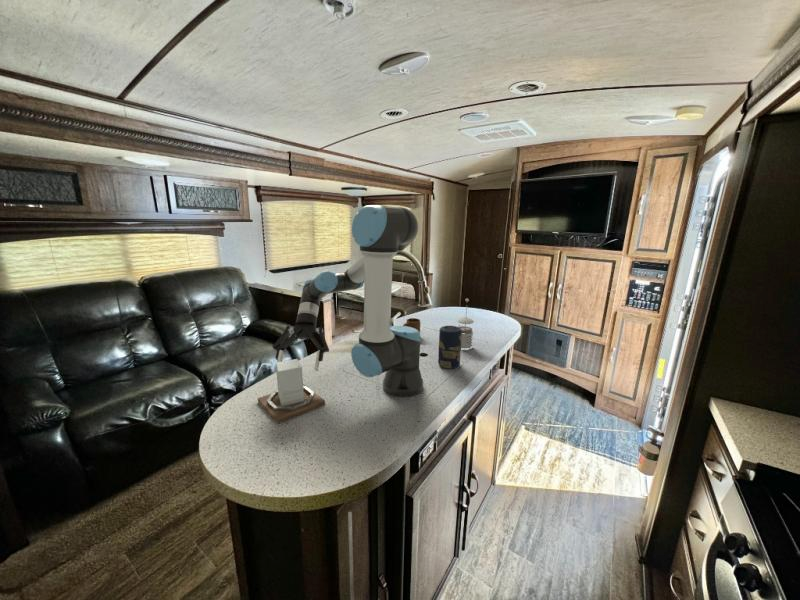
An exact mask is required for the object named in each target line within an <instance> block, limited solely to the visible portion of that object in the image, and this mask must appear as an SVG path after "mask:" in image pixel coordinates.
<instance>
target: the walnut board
mask: <svg viewBox="0 0 800 600" xmlns="http://www.w3.org/2000/svg"><path fill="white" fill-rule="evenodd" d="M303 386H306V387H307V388H309V387H308V386H307V385H305V384H304V383H303ZM309 389H310V390H311V391H313V390H312V389H311V388H309ZM313 392H314V397H313V399H312V401H311V403H310V405H307V406H305V407H302V408H300V409H298V410H295V411H293V412H292V411H274V410H273V409H272V408H271V407H270V406H269V405H268V404H267V400H268V398H269V397H270V396H271V394H272V393H269V394H266V395H263V396H260V397H257V403H258V402H259V403H260V404H261V405H262V406H263V407H262V406H261V405H260V404H259V403H258V404H259V405H260V406H261V407H262V408H263V409H264V410H265V411H266V412H267V413H268V415H269V416H270V417H271V416H272V417H273V418H274V419H275V420H276V421H277V422H276V421H275V420H274V419H273V418H272V419H273V420H274V421H275V422H276V423H277V424H278V423H279V424H281V423H280V422H282V423H284V422H286V421H289V420H291V419H293V418H295V417H298V416H302V415H304V414H305V413H308V412H310V411H312V410H314V409H317V408H319V407H322V406H324V405H325V404H326V400H325V399H324V398H322V396H320V395H319V394H317V393H316V392H315V391H313ZM303 393H304V401H303V402H306V401H307V400H308V398H309V396H310V395H309V394H308V393H307V392H306V391H304V390H303ZM272 402H273V403H274V404H275V405H276V406H280V407H282V406H281V403H280V399H279V396H278V395H276V396H275V397H274V399H273V400H272ZM303 402H299V403H295V404H291V405H287V406H283V407H293V406H296V405H298V404H301V403H303ZM288 419H289V420H288ZM283 421H284V422H283Z"/></svg>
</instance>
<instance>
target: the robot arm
mask: <svg viewBox="0 0 800 600" xmlns="http://www.w3.org/2000/svg"><path fill="white" fill-rule="evenodd" d="M418 231H419V222H418V219H417V217H416V215H415V214H414V213H413V211H411V210H410V209H408V208H406V207H403V206H391V205H390V206H389V205H388V206H387V205H381V204H370V205H365V206H362V207H361V208H359V209H358V211H357V213H356V214H355V215H354V217H353V218H352V223H351V235H352V238H354V239H353V240H354V242H355V244H357V245H358V246H359V252H360V253H361V254H362V255H361V256H359V258H358V259H357V260H356V261H354V263H353V264H351V266H350V267H349V268H348V269H347V270H345V271H343V272H337V273H336V272H333V271H330V270H323V271H321V272H320V273H319V274H317V276H315V278H314V279H312V278H311V279H307V280H306V281H305V282H304V284H303V287H302V290H301V291H302V292H301V298H300V301H299V305H298V306H299V307H298V312H297V316H296V320H295V325H294V327H291V326H289V325H286V327H285V329H284V331H283V332H282V334H281V335H280V336H279V338H278V339H277V340H276V342H275V343H274V344H273V345H272V349H273V350H274V351H275V352H276V354H275V360H276V363H277V362H283V361H284V355H285V352H284V351H285V350H286V349H287V348H288V347H290V345H292V344H293V343H294V342H295V341H297V340H298V339H299V340H309V339H310V340H311V341H312V342H313V344H314V345H315V346H316V348H317V349H318V350H317V352H316V355H315V356H316V357H315V363H314V370H315V372H319V369H320V363H321V362H323V360H324V355H325V353H329V352H330V348H329V345H328V343H327V341H326V340H327V339H326V338H325V335H324V328H323V326H319V327H317V321H318V315H319V311H320V310H319V309H320V306H321V305H320V303H321V300H323V298H324V297H326V296H327V295H329V294H335V293H340V292H341V293H342V292H346V291H355V290H357V289H361V288H364V289H363V290H364V291H363V293H364V294H363V296H364V297H363V301H364V302H363V329H362V331H360V332H359V334H358V343H356V344H354V346H353V347H352V348H351V354H350V355H351V361H352V363H353V365H354V367H355V369H356V370H357V371H358V372H359V374H361V375H363V376H364V377H366V378H374V377H377V376H380V375H382V374H383V373H385V374H384V377H383V379H382V389H383V390H384V391H385V392H386V393H387V394H389V395H391V396H394V397H395V396H396V397H401V398H402V397H404V398H405V397H412V396H416V395H418V394H420V393H421V392H422V391H423V390H424V389H423V388H424V379H423V378H422V373H421V369H420V357H421V355H420V354H421V332H420V333H419V331H418V330H417V329H415V328H412V327H407V326H403V325H392V326H391V318H392V317H391V316H392V315H391V313H392V312H391V311H392V291H393V290H392V289H393V288H392V287H393V286H392V285H393V260H394V257H395V256H396V255H397V253H398V252H402V251H404V250H405V249H407V248H408V246H409V245H410V244H412V243H413V241H414V240H415V239H416V237H417V235H418ZM363 286H364V287H363ZM292 332H293V333H292ZM316 333H317V334H319V337H320V339H321V341H322V345H323V347H322V346H321V344H320V343H319V342H318V340H317V339H316V338H315V336H314V334H316ZM290 334H291V335H290Z"/></svg>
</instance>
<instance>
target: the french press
mask: <svg viewBox="0 0 800 600" xmlns="http://www.w3.org/2000/svg"><path fill="white" fill-rule="evenodd" d="M465 302H470V299H469V298H465ZM465 307H466V310H465V314H467V312H468V311H467V310H468V306H465ZM474 322H475V321H474V319H472V318H470V317H467V316H465V317H460V318H458V319H457V323H459V325H458V326H457V327H459V328H460V329H461V330H462V339H461V348H470V347H471V346H473V342H472V341H473V335H474V332H473V328H472V327H470V326H466V325H471V324H474ZM460 324H463V325H464V326H463V325H462V326H461V325H460Z"/></svg>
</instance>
